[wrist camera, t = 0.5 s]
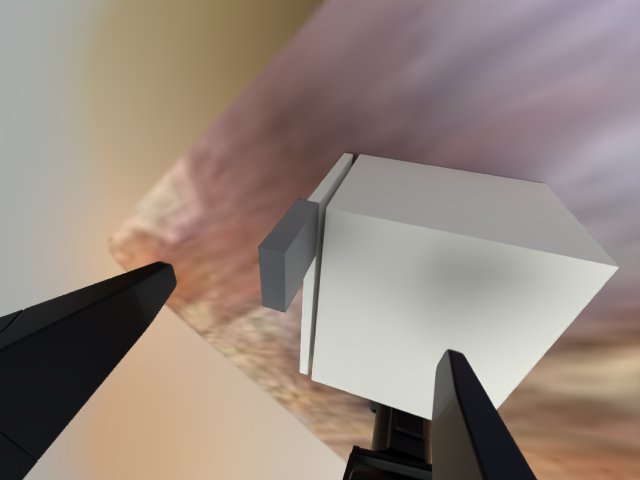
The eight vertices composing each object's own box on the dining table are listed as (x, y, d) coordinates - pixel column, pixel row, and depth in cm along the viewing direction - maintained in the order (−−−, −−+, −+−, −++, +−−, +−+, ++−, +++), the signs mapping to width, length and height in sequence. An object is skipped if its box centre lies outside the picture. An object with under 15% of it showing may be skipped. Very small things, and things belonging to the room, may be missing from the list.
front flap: (333, 302, 27) (286, 432, 18) (323, 299, 27) (271, 426, 18) (353, 154, 19) (285, 253, 10) (338, 151, 19) (258, 246, 10)
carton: (462, 335, 25) (474, 434, 18) (338, 301, 27) (311, 379, 21) (545, 183, 17) (618, 266, 10) (359, 154, 19) (325, 207, 13)
